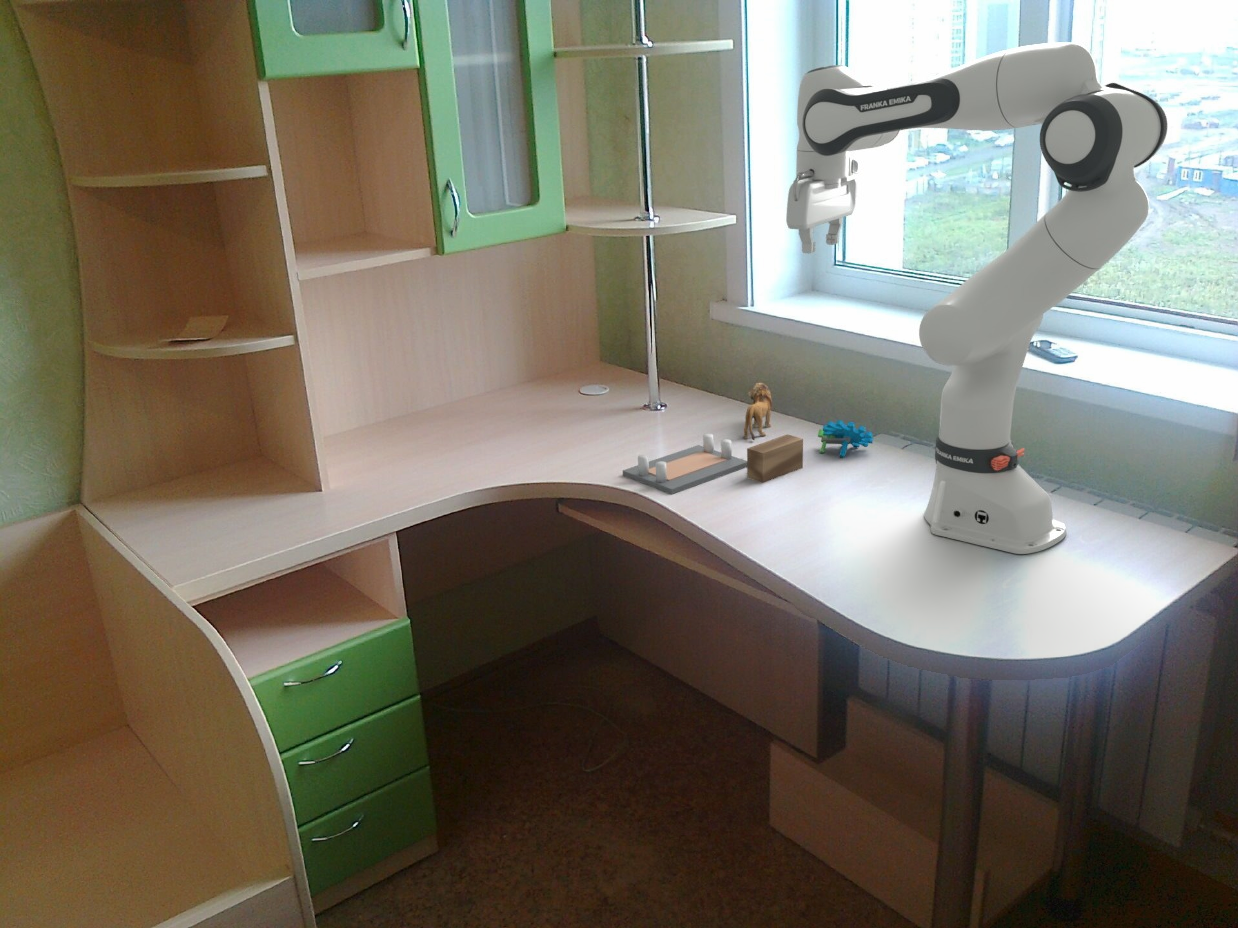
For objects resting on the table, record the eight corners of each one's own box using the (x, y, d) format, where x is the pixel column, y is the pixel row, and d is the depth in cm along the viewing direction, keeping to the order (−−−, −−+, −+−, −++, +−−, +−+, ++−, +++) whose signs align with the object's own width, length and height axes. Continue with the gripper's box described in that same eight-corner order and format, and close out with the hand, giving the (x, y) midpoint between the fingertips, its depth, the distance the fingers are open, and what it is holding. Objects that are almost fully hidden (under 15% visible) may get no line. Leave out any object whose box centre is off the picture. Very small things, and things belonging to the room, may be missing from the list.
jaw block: (802, 468, 209) (803, 438, 207) (762, 483, 202) (762, 453, 200) (787, 463, 212) (787, 434, 210) (747, 478, 205) (747, 448, 203)
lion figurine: (748, 420, 238) (748, 380, 234) (773, 420, 236) (773, 380, 233) (741, 442, 224) (741, 400, 221) (767, 443, 223) (767, 401, 220)
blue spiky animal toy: (882, 442, 215) (863, 417, 208) (875, 469, 213) (856, 445, 206) (831, 440, 222) (811, 416, 215) (823, 466, 220) (803, 443, 213)
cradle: (748, 466, 211) (748, 444, 209) (671, 494, 199) (671, 471, 197) (698, 449, 221) (698, 428, 219) (622, 475, 209) (621, 453, 208)
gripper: (812, 174, 177) (810, 259, 182) (863, 161, 192) (861, 240, 197) (777, 173, 180) (776, 257, 185) (830, 161, 196) (828, 238, 200)
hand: (820, 248), depth 191 cm, fingers open, 8 cm apart
